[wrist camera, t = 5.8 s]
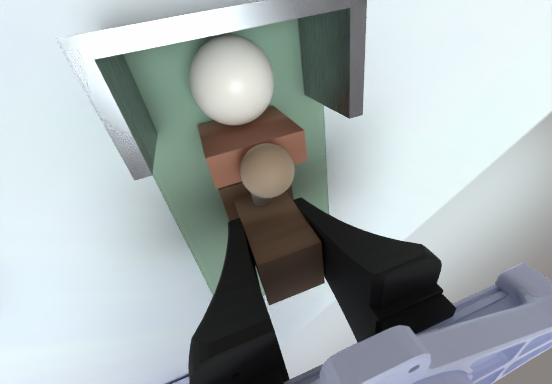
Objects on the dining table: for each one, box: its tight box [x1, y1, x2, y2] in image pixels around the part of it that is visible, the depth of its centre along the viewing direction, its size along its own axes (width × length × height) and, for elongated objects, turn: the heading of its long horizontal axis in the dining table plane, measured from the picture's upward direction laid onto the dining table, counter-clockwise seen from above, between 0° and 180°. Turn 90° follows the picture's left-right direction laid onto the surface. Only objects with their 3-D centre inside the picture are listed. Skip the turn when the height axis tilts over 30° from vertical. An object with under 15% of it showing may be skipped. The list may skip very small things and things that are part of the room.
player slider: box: [197, 106, 325, 305], centre depth 13 cm, size 8×4×6 cm, turn 9°
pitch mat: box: [123, 18, 329, 296], centre depth 17 cm, size 19×10×1 cm, turn 9°
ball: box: [189, 34, 274, 126], centre depth 11 cm, size 4×4×4 cm
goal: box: [56, 0, 367, 180], centre depth 11 cm, size 4×9×5 cm, turn 99°
